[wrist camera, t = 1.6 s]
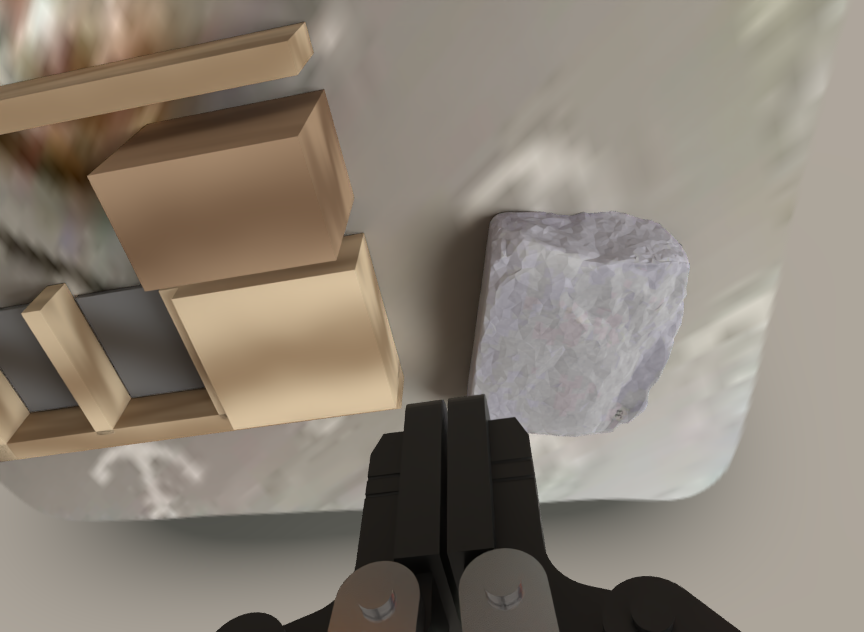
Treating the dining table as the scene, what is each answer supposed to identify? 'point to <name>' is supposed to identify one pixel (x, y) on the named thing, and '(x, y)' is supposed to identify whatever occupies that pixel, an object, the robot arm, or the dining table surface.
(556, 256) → the stone block
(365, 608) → the robot arm
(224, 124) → the walnut block
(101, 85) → the box
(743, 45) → the dining table surface
